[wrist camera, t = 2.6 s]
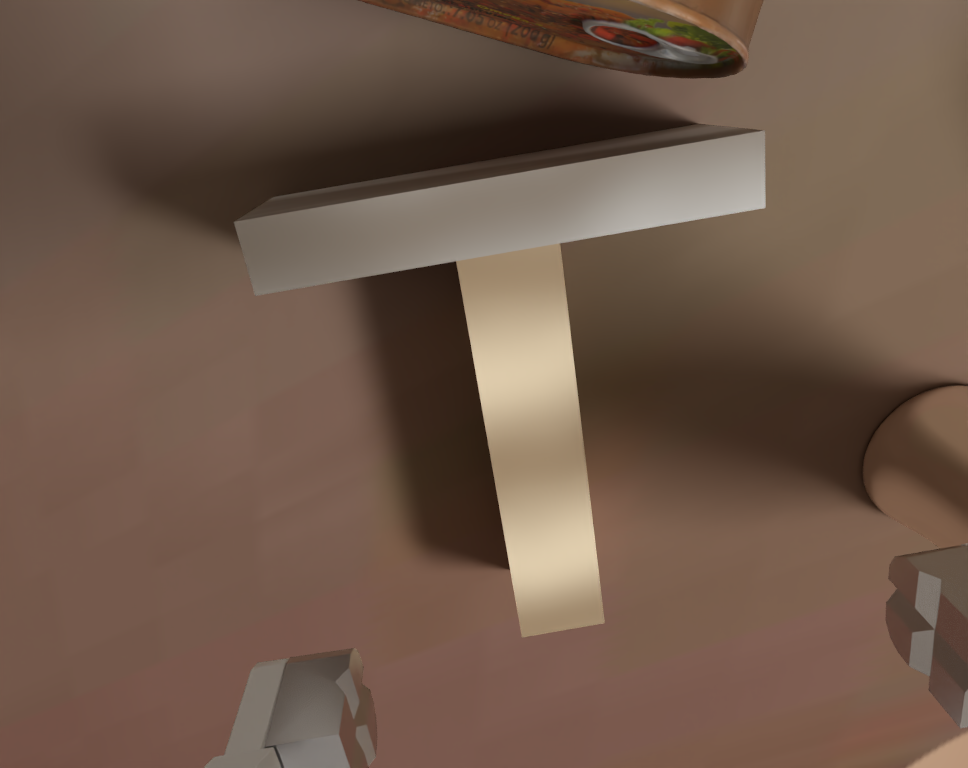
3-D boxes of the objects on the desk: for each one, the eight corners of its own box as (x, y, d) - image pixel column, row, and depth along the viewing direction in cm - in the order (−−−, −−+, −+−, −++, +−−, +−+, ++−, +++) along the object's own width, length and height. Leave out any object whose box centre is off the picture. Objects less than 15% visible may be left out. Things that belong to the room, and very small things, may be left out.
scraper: (714, 533, 29) (767, 615, 25) (378, 591, 29) (368, 685, 24) (698, 123, 23) (765, 130, 18) (273, 196, 23) (233, 221, 18)
